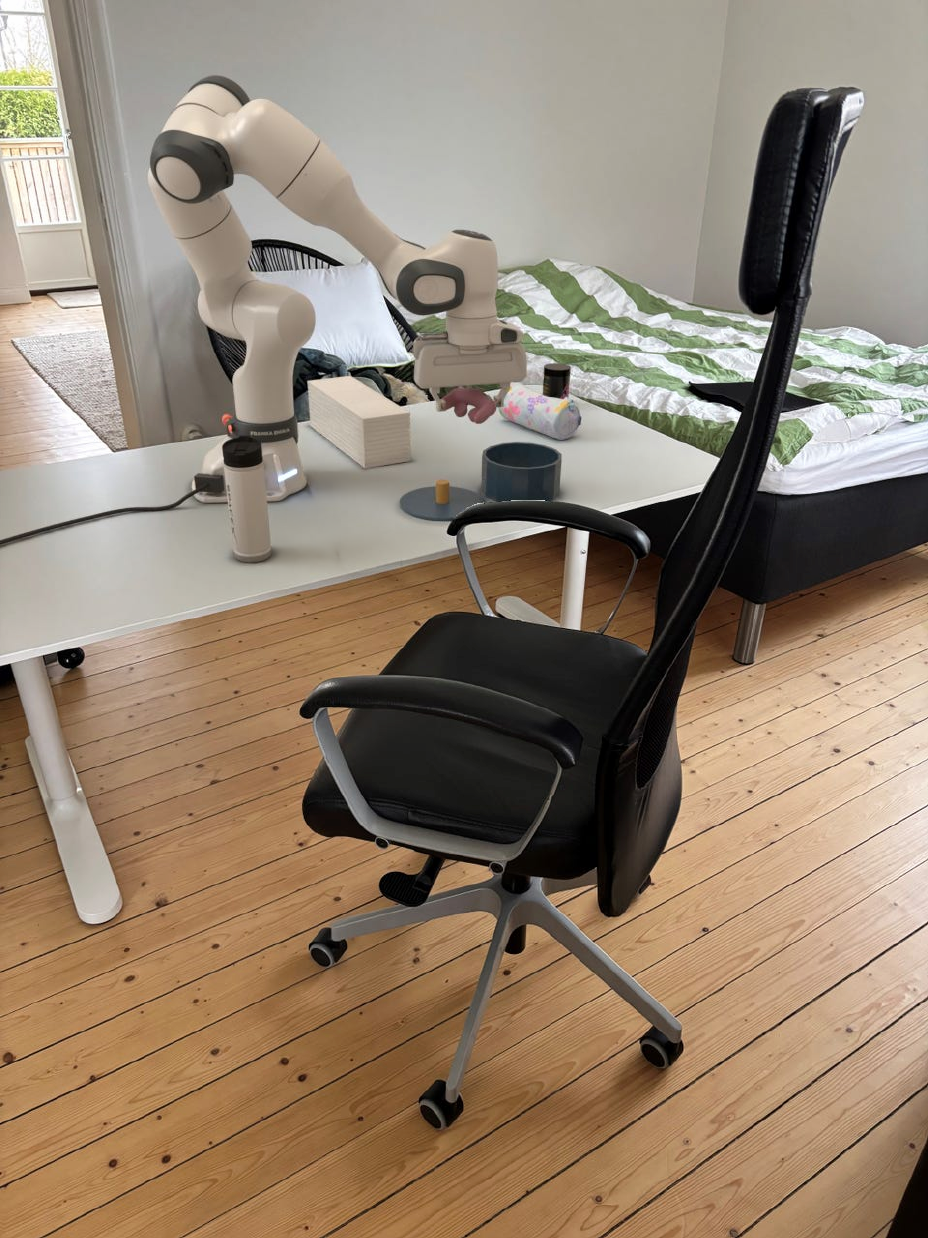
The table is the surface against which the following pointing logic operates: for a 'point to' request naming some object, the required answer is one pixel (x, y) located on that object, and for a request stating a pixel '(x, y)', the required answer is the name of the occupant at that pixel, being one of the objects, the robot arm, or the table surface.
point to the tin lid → (438, 501)
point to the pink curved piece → (470, 403)
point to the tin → (521, 472)
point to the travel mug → (247, 498)
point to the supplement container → (556, 380)
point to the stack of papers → (359, 421)
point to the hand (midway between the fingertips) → (470, 408)
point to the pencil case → (541, 412)
